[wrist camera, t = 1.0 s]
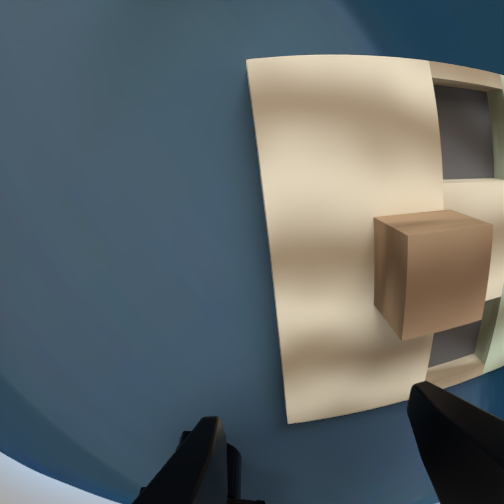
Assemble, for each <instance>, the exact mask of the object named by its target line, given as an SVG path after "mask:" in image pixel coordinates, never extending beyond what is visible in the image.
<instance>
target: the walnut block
mask: <svg viewBox="0 0 504 504" xmlns="http://www.w3.org/2000/svg"><path fill="white" fill-rule="evenodd" d="M373 219H374V306H375V307H376V308H377V309H378V311H379V312H380V313H381V315H382V316H383V317H384V318H385V320H386V321H387V322H388V324H389V325H390V326H391V328H392V329H393V330H394V332H395V333H396V334H397V336H398V337H399V338H400V340H401V341H404V340H408V339H412V338H417V337H421V336H425V335H429V334H433V333H436V332H440V331H444V330H448V329H451V328H455V327H458V326H462V325H465V324H469V323H472V322H475V321H479V320H482V315H483V310H484V304H485V298H486V292H487V285H488V278H489V270H490V262H491V252H492V240H493V225H492V224H490V223H487V222H484V221H482V220H479V219H476V218H473V217H470V216H468V215H465V214H462V213H459V212H456V211H453V210H439V211H429V212H418V213H408V214H398V215H389V216H379V217H373Z"/></svg>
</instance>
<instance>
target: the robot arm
mask: <svg viewBox="0 0 504 504" xmlns="http://www.w3.org/2000/svg"><path fill="white" fill-rule="evenodd" d="M407 413H408V417H409V420H410V423H411V426H412V429H413V433H414V436H415V439H416V442H417V446H418V449H419V452H420V456H421V459H422V461H423V464H424V466H425V468H426V471H427V473H428V475H429V478H430V480H431V482H432V485H433V487H434V490H435V492H436V494H437V497H438V499H439V502H440V504H504V420H502V419H500V418H498V417H496V416H494V415H492V414H490V413H488V412H486V411H484V410H482V409H480V408H478V407H476V406H474V405H472V404H470V403H468V402H467V401H465V400H463V399H461V398H459V397H457V396H455V395H453V394H451V393H449V392H447V391H445V390H444V389H442V388H440V387H438V386H436V385H434V384H432V383H430V382H428V381H423V382H420V383H416V384H414V385H413V386H412V387H411V391H410V395H409V400H408V404H407ZM132 504H265V502H264V501H261V500H257V501H252V500H244V499H241V455H240V453H239V452H238V450H237V449H236V448H234V447H233V446H232V445H230V444H228V443H226V437H225V433H224V430H223V426H222V422H221V419H220V418H219V417H218V416H210V417H203V418H202V419H201V420H200V421H199V422H198V424H197V425H196V426H195V428H194V429H193V430H192V431H184V432H182V436H181V439H180V443H179V445H178V447H177V448H176V451H175V453H174V454H173V455H172V456H171V458H170V459H169V460H168V461H167V463H166V464H165V465H164V466H163V467H162V469H161V470H160V471H159V472H158V473H157V475H156V476H155V477H154V478H153V479H152V480H151V482H150V483H149V484H148V485H147V487H142V488H141V490H140V494H139V496H138V497H137V498H136V499H135V501H134V502H133V503H132Z"/></svg>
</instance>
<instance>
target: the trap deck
mask: <svg viewBox="0 0 504 504" xmlns="http://www.w3.org/2000/svg"><path fill="white" fill-rule="evenodd" d="M246 71H247V78H248V86H249V93H250V101H251V108H252V116H253V123H254V131H255V139H256V146H257V154H258V162H259V170H260V178H261V187H262V195H263V203H264V211H265V220H266V228H267V237H268V245H269V254H270V263H271V272H272V281H273V290H274V299H275V308H276V318H277V327H278V337H279V347H280V356H281V366H282V376H283V387H284V397H285V407H286V414H287V421H288V424H292V423H299V422H306V421H312V420H319V419H324V418H330V417H336V416H341V415H346V414H351V413H356V412H360V411H365V410H369V409H374V408H378V407H382V406H386V405H390V404H394V403H398V402H401V401H405V400H408V399H409V395H410V391H411V387H412V386H413V385H414V384H416V383H420V382H423V381H428V382H430V383H432V384H434V385H436V386H438V387H440V388H442V389H444V388H447V387H450V386H453V385H456V384H458V383H461V382H464V381H467V380H469V379H472V378H475V377H477V376H480V375H482V374H485V373H487V372H490V371H492V370H494V369H497V368H499V367H502V366H504V75H500V74H496V73H491V72H487V71H483V70H478V69H473V68H468V67H463V66H458V65H452V64H446V63H439V62H432V61H425V60H417V59H407V58H397V57H384V56H366V55H301V56H283V57H269V58H258V59H249V60H246ZM439 210H453V211H456V212H459V213H462V214H465V215H468V216H470V217H473V218H476V219H479V220H482V221H484V222H487V223H490V224H492V225H493V240H492V252H491V262H490V270H489V278H488V285H487V292H486V298H485V304H484V310H483V315H482V320H479V321H475V322H472V323H469V324H465V325H462V326H458V327H455V328H451V329H448V330H444V331H440V332H436V333H433V334H429V335H425V336H421V337H417V338H412V339H408V340H404V341H401V340H400V338H399V337H398V336H397V334H396V333H395V332H394V330H393V329H392V328H391V326H390V325H389V324H388V322H387V321H386V320H385V318H384V317H383V316H382V315H381V313H380V312H379V311H378V309H377V308H376V307H375V306H374V219H373V217H379V216H389V215H398V214H408V213H418V212H429V211H439Z"/></svg>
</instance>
